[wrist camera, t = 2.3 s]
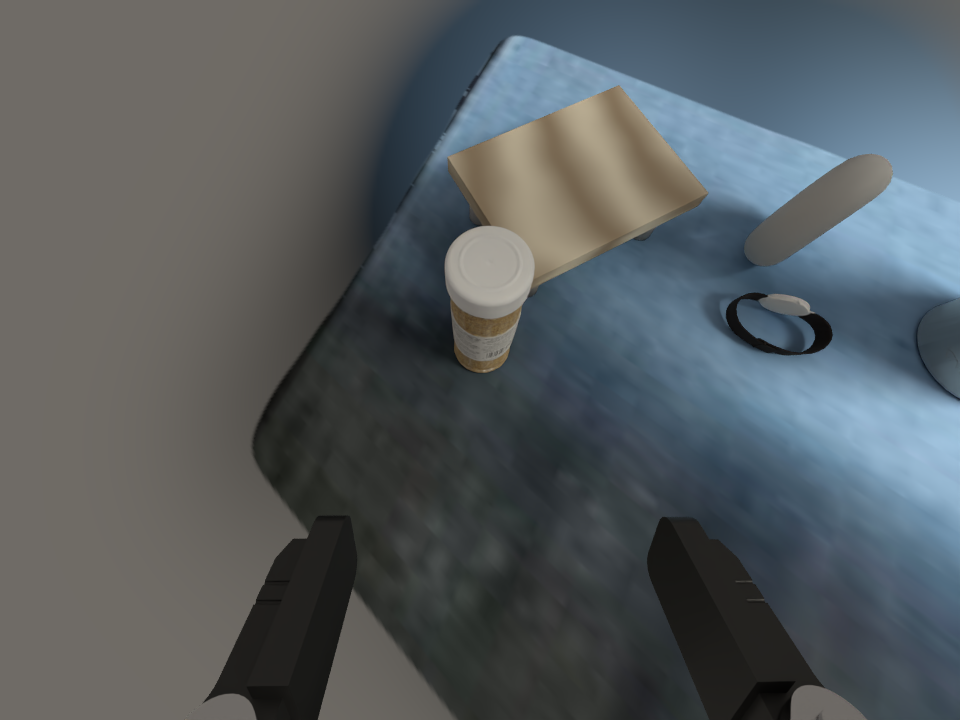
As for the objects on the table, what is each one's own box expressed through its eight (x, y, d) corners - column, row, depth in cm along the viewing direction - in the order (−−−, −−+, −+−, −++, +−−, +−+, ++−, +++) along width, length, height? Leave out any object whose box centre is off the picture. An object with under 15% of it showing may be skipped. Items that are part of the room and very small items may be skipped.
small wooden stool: (596, 143, 39) (619, 85, 33) (670, 238, 36) (708, 193, 30) (450, 208, 36) (447, 156, 31) (517, 316, 33) (527, 282, 28)
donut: (739, 292, 35) (842, 221, 25) (711, 262, 36) (802, 182, 26) (816, 238, 37) (940, 152, 27) (789, 211, 37) (900, 118, 28)
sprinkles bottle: (497, 314, 33) (516, 211, 21) (517, 364, 32) (551, 287, 19) (445, 331, 33) (431, 236, 20) (464, 382, 32) (461, 316, 19)
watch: (814, 324, 34) (853, 306, 31) (804, 372, 33) (844, 360, 30) (726, 290, 35) (755, 269, 32) (713, 337, 34) (742, 320, 30)
